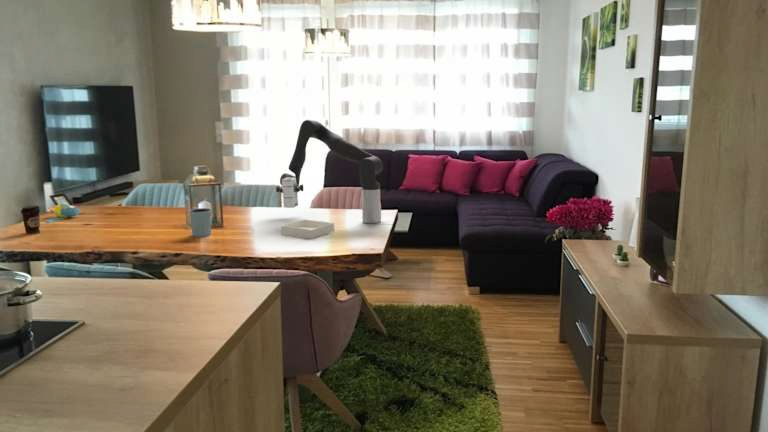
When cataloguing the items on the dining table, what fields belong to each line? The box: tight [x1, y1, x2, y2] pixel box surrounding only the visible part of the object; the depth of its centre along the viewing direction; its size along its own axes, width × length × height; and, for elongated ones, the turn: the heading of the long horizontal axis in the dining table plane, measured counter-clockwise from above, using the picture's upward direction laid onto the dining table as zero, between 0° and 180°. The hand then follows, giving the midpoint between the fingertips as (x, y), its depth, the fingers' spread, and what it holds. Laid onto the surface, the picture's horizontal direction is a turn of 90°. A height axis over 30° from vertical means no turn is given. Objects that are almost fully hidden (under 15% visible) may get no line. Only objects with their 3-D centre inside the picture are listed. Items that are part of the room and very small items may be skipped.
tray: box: [280, 218, 335, 239], centre depth 309 cm, size 18×18×4 cm
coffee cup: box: [20, 205, 41, 235], centre depth 314 cm, size 9×8×13 cm
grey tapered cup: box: [188, 207, 212, 238], centre depth 306 cm, size 10×10×12 cm
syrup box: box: [281, 177, 299, 209], centre depth 322 cm, size 6×6×14 cm
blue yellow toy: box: [42, 202, 82, 224], centre depth 353 cm, size 28×9×15 cm
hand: (289, 190), depth 320 cm, fingers closed on syrup box, 7 cm apart
